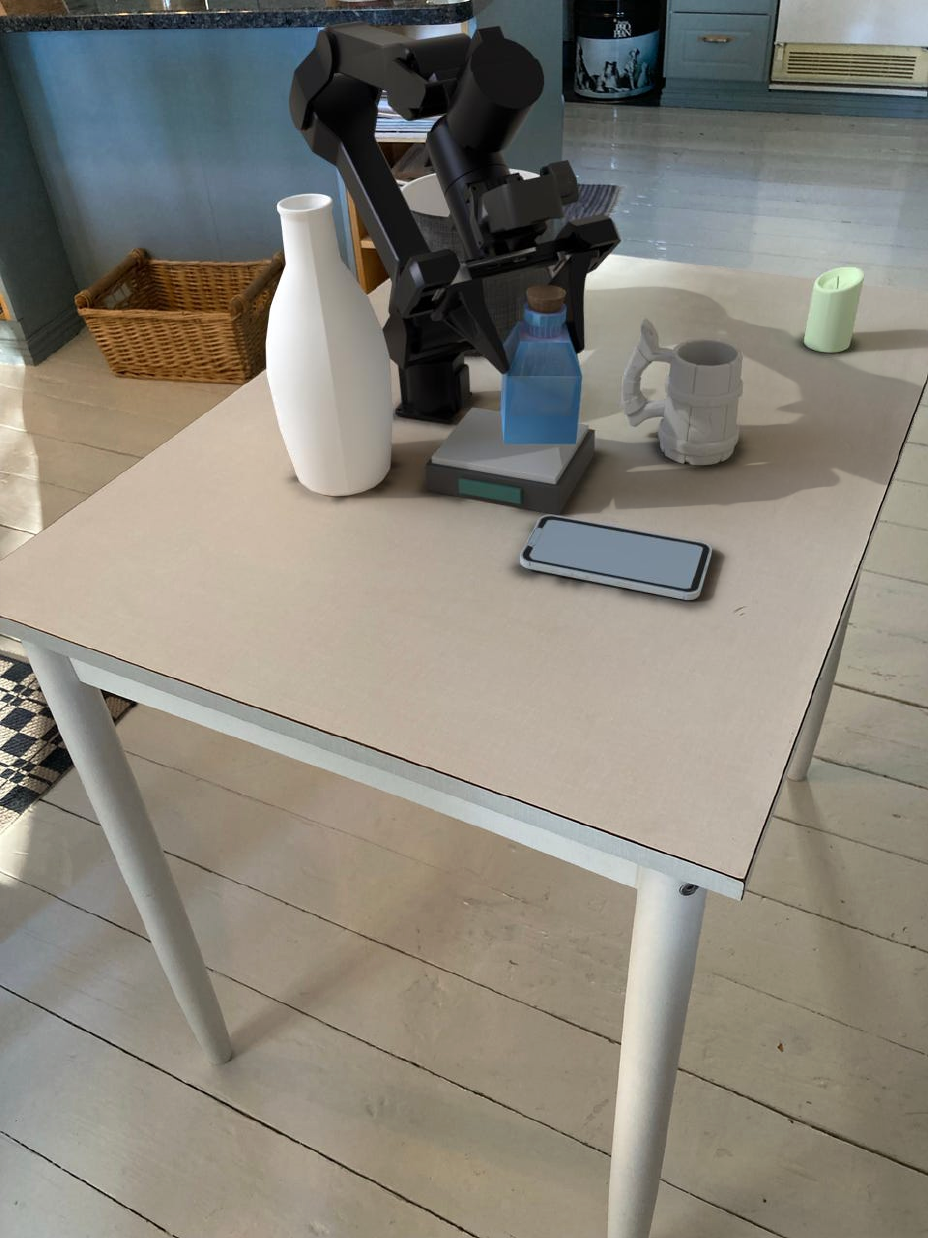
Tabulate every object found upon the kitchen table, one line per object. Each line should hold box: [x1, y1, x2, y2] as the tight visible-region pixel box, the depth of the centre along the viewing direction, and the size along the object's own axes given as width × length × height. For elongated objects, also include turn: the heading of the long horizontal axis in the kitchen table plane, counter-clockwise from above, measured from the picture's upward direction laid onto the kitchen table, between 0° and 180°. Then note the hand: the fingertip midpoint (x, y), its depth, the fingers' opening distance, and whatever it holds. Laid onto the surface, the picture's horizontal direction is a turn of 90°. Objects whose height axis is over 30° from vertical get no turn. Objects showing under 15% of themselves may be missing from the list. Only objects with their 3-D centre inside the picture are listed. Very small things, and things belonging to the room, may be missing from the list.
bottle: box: [265, 193, 394, 497], centre depth 88 cm, size 11×11×25 cm
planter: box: [400, 168, 555, 356], centre depth 117 cm, size 18×18×16 cm
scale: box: [424, 406, 596, 516], centre depth 94 cm, size 13×11×4 cm
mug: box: [620, 318, 744, 466], centre depth 94 cm, size 8×12×12 cm, turn 65°
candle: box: [803, 266, 865, 354], centre depth 110 cm, size 5×5×8 cm
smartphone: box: [519, 514, 713, 601], centre depth 83 cm, size 7×1×15 cm
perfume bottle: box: [500, 285, 583, 444], centre depth 83 cm, size 6×6×12 cm
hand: (543, 361), depth 81 cm, fingers closed on perfume bottle, 7 cm apart
